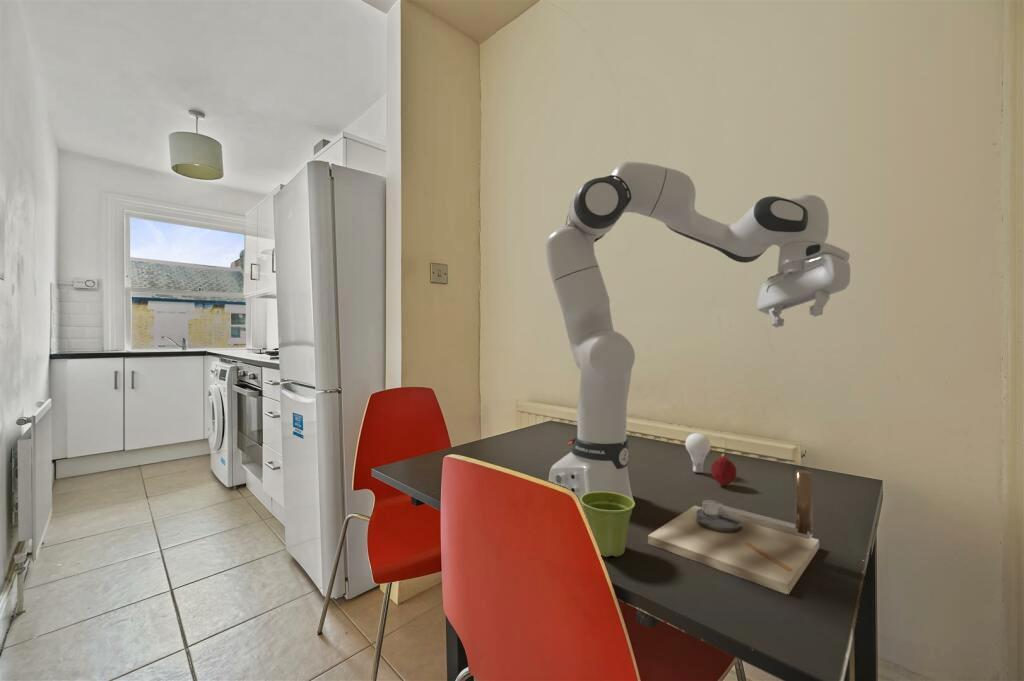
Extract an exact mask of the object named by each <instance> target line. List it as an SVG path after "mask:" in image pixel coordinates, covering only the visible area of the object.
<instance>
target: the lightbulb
mask: <svg viewBox="0 0 1024 681" xmlns="http://www.w3.org/2000/svg"><path fill="white" fill-rule="evenodd" d="M684 443H685V449H686V450H687V452H688V454H689V455H690V459H691V461H692V471H693V472H694V473H696V474H701V473H703V472H704V462H705V458H706V456H707V455H708V454H709V452H710V450H711V442H710V440H709V438H708V436H706V435H705V434H702V433H699V432H694V433H690V434H689V435H688V436H687V438H686V439H685V442H684Z"/></svg>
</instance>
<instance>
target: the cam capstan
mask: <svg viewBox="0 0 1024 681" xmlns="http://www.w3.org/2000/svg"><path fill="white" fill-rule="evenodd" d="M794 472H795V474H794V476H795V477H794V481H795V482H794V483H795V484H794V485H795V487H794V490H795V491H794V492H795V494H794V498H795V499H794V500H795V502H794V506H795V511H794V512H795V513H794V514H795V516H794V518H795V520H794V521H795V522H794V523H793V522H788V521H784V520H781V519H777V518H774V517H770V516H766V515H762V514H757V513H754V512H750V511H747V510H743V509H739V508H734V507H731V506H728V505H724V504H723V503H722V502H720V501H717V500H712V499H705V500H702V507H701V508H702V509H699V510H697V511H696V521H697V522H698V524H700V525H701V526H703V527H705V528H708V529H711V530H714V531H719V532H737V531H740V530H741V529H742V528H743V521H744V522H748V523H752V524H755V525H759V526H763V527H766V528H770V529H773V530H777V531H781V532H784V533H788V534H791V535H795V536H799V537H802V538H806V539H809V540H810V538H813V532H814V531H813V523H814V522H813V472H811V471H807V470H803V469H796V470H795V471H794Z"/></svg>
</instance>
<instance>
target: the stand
mask: <svg viewBox="0 0 1024 681" xmlns="http://www.w3.org/2000/svg"><path fill="white" fill-rule="evenodd" d="M699 509H702V507H701V506H697V505H694V506H692V507H691V508H688V509H687V510H686V511H684V512H682V513H680V514H679V515H678V516H676V517H674V518H673V519H672V520H669V522H667V523H665V524H664V525H662V526H660V527H659V528H657V529H656V530H654V531H653V532H651V533H649V534H648V535H647V545H650V546H653V547H656V548H659V549H662V550H664V551H666V552H670V553H671V554H672V553H673V554H675V555H678V556H680V557H683V558H686V559H688V560H692V561H695V562H697V563H700V564H702V565H705V566H708V567H711V568H713V569H716V570H719V571H722V572H723V573H727V574H730V575H733V576H736V577H738V578H741V579H744V580H746V581H748V582H752V583H754V584H757V585H760V586H763V587H766V588H768V589H770V590H771V589H772V590H774V591H777V592H780V593H781V594H784V595H787V594H788V595H790V593H791V591H792V590H793V588H794V586H796V584H797V582H798V581H799V579H800V578H801V576H802V575H803V573H804V571H805V570H806V568H807V567H808V566H809V564H810V563H811V562H812V559H813V558H814V557H815V555H816V554H817V552H818V551H819V549H820V539H817V538H814V537H811V538H810V540H809V539H806V538H802V537H799V536H795V535H791V534H788V533H784V532H781V531H777V530H773V529H770V528H766V527H763V526H759V525H755V524H752V523H748V522H744V521H743V528H742V529H741V530H740V531H737V532H719V531H714V530H711V529H708V528H705V527H703V526H701V525H700V524H698V522H697V521H696V511H697V510H699Z"/></svg>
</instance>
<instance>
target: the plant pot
mask: <svg viewBox="0 0 1024 681" xmlns="http://www.w3.org/2000/svg"><path fill="white" fill-rule="evenodd" d="M580 502H581V504H582V505H583V509H584V511H583V512H584V515H586V516H585V519H586V518H587V520H588V523H589V525H590V527H591V530H592V532H593V535H594V537H595V539H596V542H597V544H598V546H599V549H600V552H601V555H602V556H601V557H606V558H608V557H611V556H613V557H615V558H616V557H620V556H622V555H624V553H625V551H626V545H627V539H628V532H629V527H630V526H629V525H630V520H631V519H630V518H631V516H632V513H633V509H634V508H635V506H636V502H635V500H632V499H631V498H629V497H627V496H625V495H622V494H618V493H614V492H590V493H586V494H584V495H582V496H581V498H580Z"/></svg>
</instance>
